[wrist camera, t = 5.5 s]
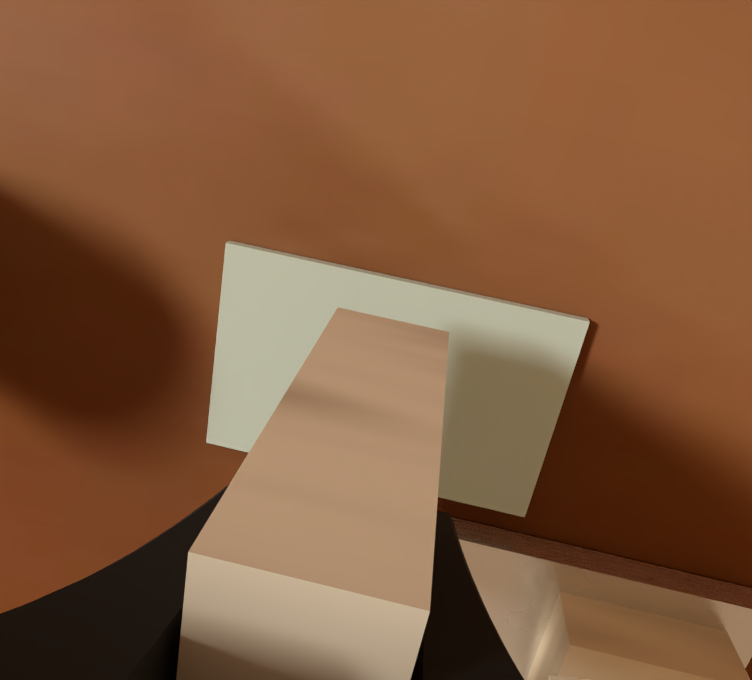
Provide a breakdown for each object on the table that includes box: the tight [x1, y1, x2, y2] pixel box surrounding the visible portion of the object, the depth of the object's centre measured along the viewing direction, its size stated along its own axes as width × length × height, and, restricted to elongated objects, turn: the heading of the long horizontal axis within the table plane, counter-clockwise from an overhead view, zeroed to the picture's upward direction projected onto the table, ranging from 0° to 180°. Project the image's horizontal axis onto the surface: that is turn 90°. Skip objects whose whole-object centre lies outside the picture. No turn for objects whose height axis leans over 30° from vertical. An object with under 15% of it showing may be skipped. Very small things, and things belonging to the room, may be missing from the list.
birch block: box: [176, 307, 449, 680], centre depth 12 cm, size 6×3×8 cm, turn 169°
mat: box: [206, 241, 590, 517], centre depth 18 cm, size 6×10×1 cm, turn 79°
